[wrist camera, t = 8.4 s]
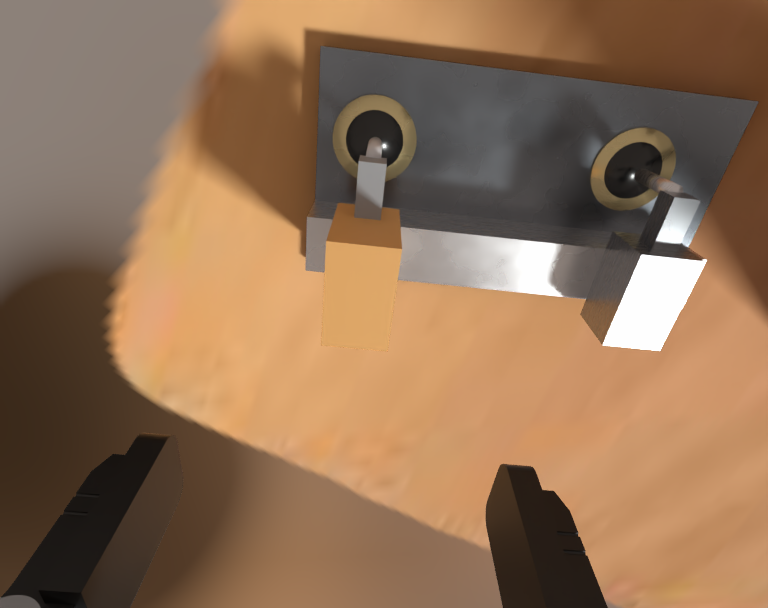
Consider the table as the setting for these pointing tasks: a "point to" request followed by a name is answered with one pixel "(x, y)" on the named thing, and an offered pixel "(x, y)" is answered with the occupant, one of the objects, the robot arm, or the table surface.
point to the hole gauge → (530, 181)
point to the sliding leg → (362, 263)
